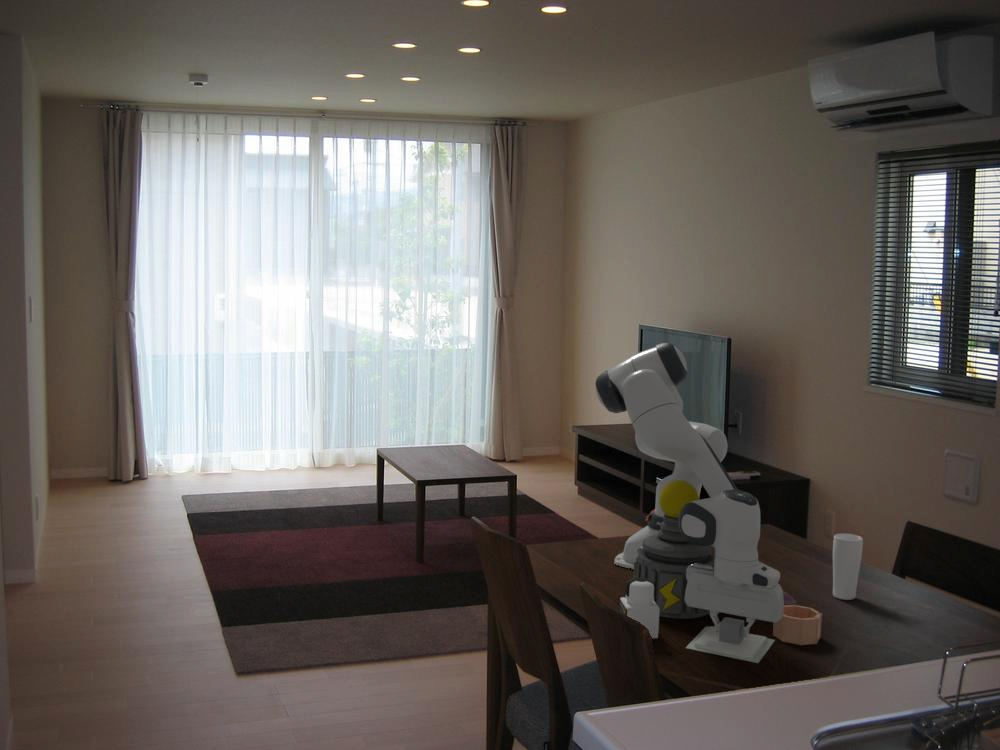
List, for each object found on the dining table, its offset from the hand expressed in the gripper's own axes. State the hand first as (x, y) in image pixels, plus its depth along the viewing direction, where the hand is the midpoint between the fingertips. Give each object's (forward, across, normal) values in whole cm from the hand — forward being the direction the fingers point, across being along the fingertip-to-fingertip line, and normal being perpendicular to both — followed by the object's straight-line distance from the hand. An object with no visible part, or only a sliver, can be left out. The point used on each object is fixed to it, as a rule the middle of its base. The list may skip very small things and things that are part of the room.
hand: (731, 633), depth 218 cm
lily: (+3, +3, +27) cm, 27 cm away
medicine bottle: (+3, -19, -4) cm, 20 cm away
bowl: (+3, +11, +12) cm, 17 cm away
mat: (+3, 0, 0) cm, 3 cm away
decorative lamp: (+3, -18, +17) cm, 25 cm away
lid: (+2, 0, 0) cm, 2 cm away
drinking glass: (+3, +15, +48) cm, 50 cm away
